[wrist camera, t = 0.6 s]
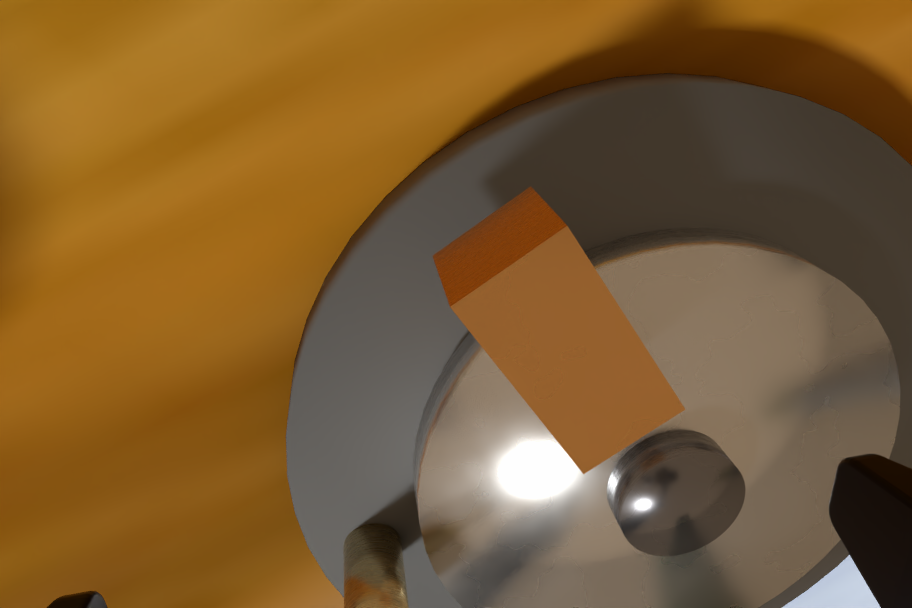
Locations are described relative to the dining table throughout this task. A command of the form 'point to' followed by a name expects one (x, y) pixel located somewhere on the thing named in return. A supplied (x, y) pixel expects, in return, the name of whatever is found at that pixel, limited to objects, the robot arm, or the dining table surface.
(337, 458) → the base plate
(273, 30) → the dining table surface
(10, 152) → the dining table surface
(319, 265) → the dining table surface
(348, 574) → the dowel
